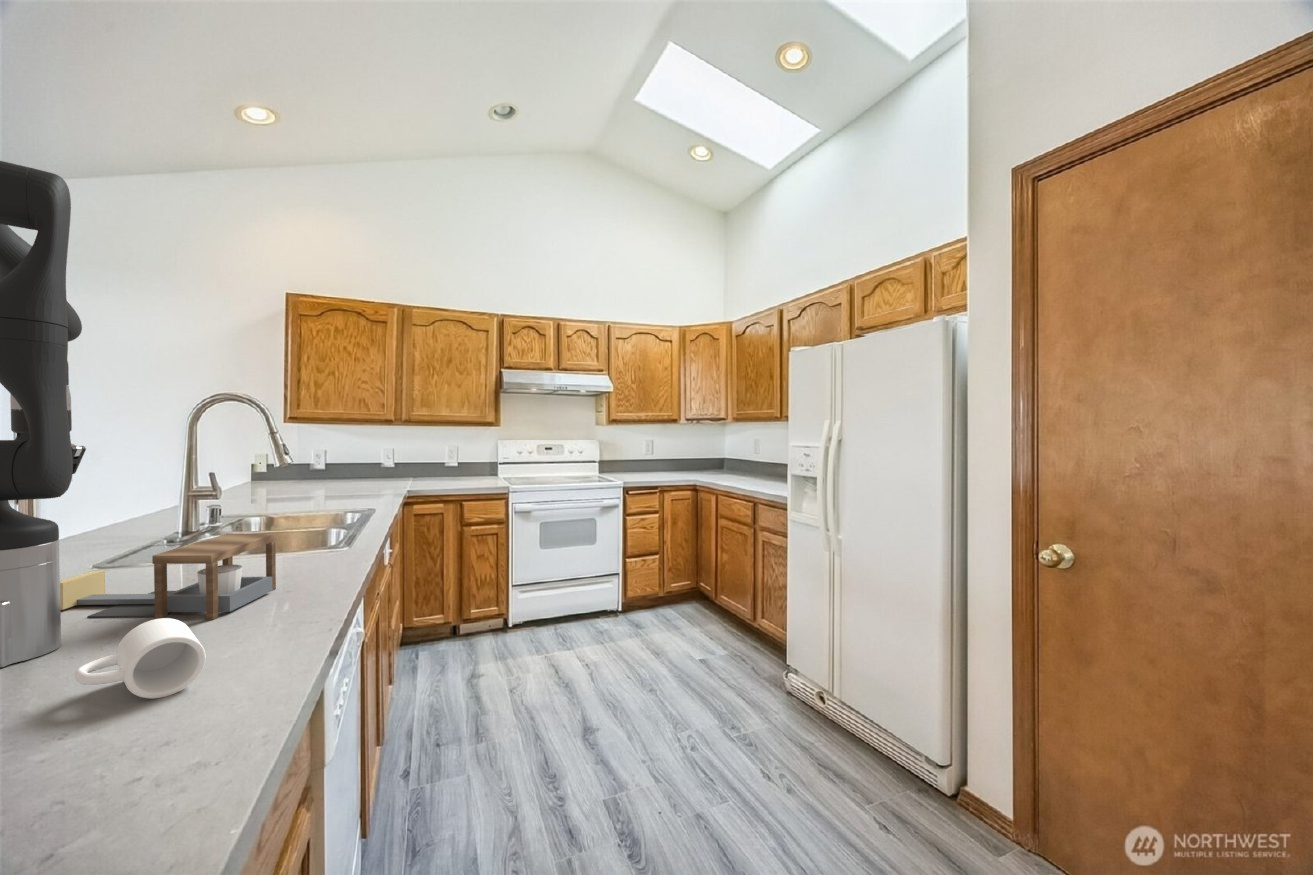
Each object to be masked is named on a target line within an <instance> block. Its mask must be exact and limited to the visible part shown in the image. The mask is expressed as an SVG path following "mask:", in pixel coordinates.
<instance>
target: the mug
mask: <svg viewBox="0 0 1313 875" xmlns="http://www.w3.org/2000/svg"><path fill="white" fill-rule="evenodd" d="M206 653H207V652H206V651H205V648H204V645H202V644H201V642H200V641H199V639H198V638H197V637H196V634H194V633H193V631H192V630H191V628H190V627H189V626H188V625H187V624H186V623H185V622H183V621H181V620H179V619H175V618H170V617H168V618H161V619H155V618H154V619H151V620H148V621H145V622H142V623H141V624H139V625H137V626H136V627H134V628H132V629H131V630H130V631H128V633H126V634H125V635H124V636H123V638H122V639H121V640H120V642H119V644H118V646H117V649H116V653H114V654H110V655H107V656H103V657H100V658H98V659H95V660H92V661H90V662H87V663H85V664H83V665H82V666H80V667H78V668H77V669H76V670H75V673H74V679H75V681H76V682H77V683H79V684H81V685H85V686H94V685H106V684H112V683H117V682H121V681H123V682H124V684H125V687H126V688H127V689H128V691H129V692H130V693H131V694H132V695H134V696H137V697H139V698H143V699H150V700H151V699H162V698H165V697H169V696H172V695H175V694H177V693H178V692H181V691H182V690H184V689H186V688H187V687H188V686H190V685H191V684H192V683H193V682H194V681H195V680H197V679H198V677H199V675H200V674H201V673H202V671H203V669H204V667H205V665H206V660H207V657H206V655H207V654H206ZM115 666H118V667H119V669H114V670H110V671H109V670H108V671H104V672H97V673H96V671H97V670H102V669H106V668H108V667H109V668H110V667H115ZM92 672H93V673H92Z"/></svg>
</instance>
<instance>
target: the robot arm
mask: <svg viewBox="0 0 1313 875" xmlns="http://www.w3.org/2000/svg"><path fill="white" fill-rule="evenodd" d="M69 189H70V188H69V186H68V184H67V182H66V180H64V178H63V177H62V176H60V175H58V174H56V173H53V172H49V171H46V170H42V169H37V168H35V167H29V166H25V165H21V164H18V163H17V164H15V163H12V162H8V161H4V160H0V384H1V386H2V387H3V388H4V389H6V390H7V391H8V393H9V394H10V398H9V399H10V400H9V402H10V430H11V432H13V433H15V434H16V437H15V439H0V668H4V667H6V666H9V665H11V664H15V663H16V664H17V663H18V662H20V663H21V662H23V661H28V660H32V659H34V658H38V657H41V656H44V655H47V654H49V653H51V652H54V651H55V650H57V649H58V648H60V647H61V646H62V618H61V616H62V614H61V613H62V612H61V611H62V610H60V581H61V575H60V573H61V572H60V570H61V569H60V529H59V525H58V523H57V522H55V521H53V520H49V519H46V518H40V517H36V516H32V515H29V514H25V513H23V512H20V511H19V510H17V509H15V508H13V507H12V506H11V505H10V502H9V501H26V500H47V499H55V498H60V497H62V496H63V495H64V494H65V493H67V491H68V489H69V488H70V485H71V482H72V479H73V475H75V474H76V472H77V471H78V468H79V465H80V464H81V462H82V460H83V457H84V455H85V452H86V450H87V448H86V446H84V445H76V444H75V443H72V441H71V440H72V439H71V431H72V429H73V427H72V426H73V425H72V396H71V391H70V385H69V384H70V379H69V377H70V376H69V374H70V373H69V372H70V371H69V370H70V368H69V361H68V355H69V354H68V353H69V352H68V351H69V342H72V341H74V340H76V339H77V338H79V336H81V333H82V330H83V329H82V328H83V325H82V321H81V318H80V316H79V315H78V312H76V310H75V308H74V307H73V306H72V305H71V304H70V303H69V302H68V300H67V299H68V298H67V263H68V252H69V251H68V249H69V239H70V227H71V211H72V210H71V208H72V202H71V200H72V199H71V193H70V190H69ZM11 227H15V228H20V229H27V230H30V231H31V230H34V231H36V236H35V238H34V241H33V244H32V245H31V244H29V243H28V242H27V241H26V240H24V238H22V237H21V236H20V235H18V234H17V233H16V232H15V231H14V230H13V229H12V228H11Z"/></svg>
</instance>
